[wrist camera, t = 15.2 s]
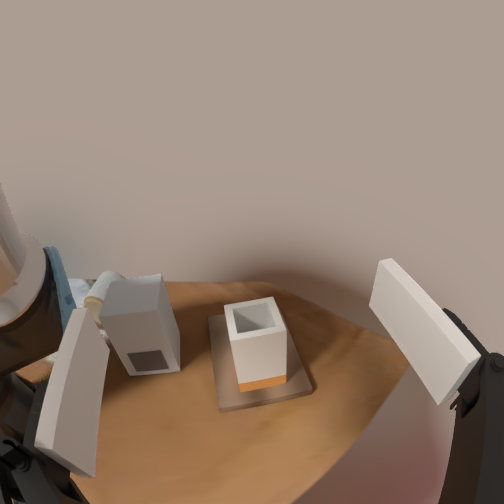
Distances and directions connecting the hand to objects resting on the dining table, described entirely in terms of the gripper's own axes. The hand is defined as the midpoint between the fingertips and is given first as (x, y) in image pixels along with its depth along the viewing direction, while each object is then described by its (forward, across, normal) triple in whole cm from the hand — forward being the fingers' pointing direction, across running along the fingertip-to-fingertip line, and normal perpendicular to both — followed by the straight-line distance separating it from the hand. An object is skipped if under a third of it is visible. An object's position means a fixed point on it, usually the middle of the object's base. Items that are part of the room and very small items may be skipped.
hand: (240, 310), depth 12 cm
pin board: (+18, +3, -26) cm, 32 cm away
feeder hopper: (+21, -12, -26) cm, 36 cm away
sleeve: (+14, +3, -24) cm, 28 cm away
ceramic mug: (+33, -20, -27) cm, 47 cm away
